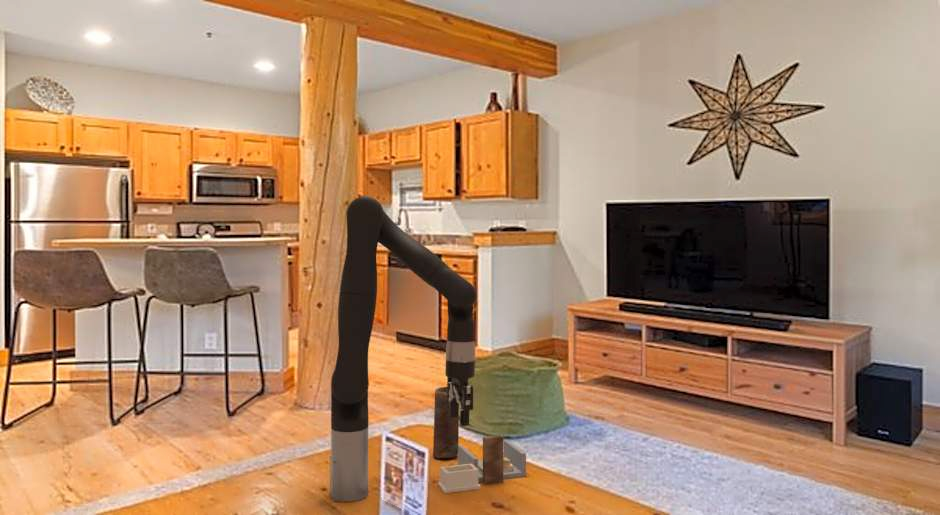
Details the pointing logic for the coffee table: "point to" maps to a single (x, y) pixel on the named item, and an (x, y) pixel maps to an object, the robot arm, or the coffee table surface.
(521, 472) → the rack
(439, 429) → the brown log
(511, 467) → the block
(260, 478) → the coffee table surface
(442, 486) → the holder
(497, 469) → the slat
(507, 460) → the offcut short
